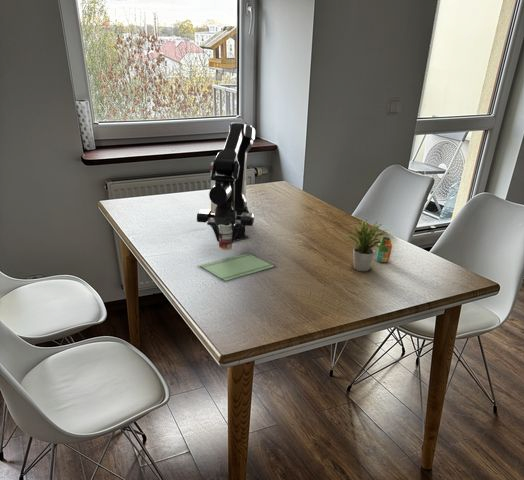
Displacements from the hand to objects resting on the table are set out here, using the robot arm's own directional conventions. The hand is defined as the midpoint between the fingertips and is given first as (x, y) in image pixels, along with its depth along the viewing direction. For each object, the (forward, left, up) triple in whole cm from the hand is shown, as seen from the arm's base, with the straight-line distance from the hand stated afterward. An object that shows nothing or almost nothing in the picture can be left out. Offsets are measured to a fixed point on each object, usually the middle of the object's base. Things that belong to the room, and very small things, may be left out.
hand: (225, 242), depth 177 cm
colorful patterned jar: (+36, +41, -4) cm, 55 cm away
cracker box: (-34, +26, -4) cm, 43 cm away
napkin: (+12, -4, -4) cm, 13 cm away
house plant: (+37, +29, -4) cm, 47 cm away
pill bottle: (0, 0, -2) cm, 2 cm away
